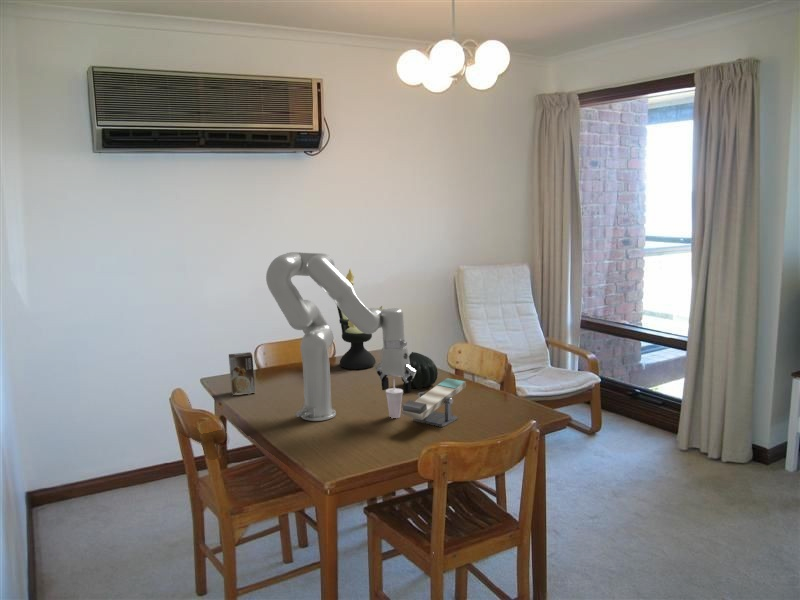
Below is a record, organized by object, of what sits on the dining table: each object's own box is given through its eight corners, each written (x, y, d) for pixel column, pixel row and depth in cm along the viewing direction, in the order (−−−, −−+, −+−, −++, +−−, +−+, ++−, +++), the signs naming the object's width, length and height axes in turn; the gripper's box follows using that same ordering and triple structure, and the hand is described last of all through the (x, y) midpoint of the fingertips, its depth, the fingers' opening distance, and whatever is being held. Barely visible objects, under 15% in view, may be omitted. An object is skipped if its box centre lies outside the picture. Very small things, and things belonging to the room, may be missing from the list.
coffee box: (253, 389, 274) (251, 351, 271) (255, 394, 268) (253, 355, 265) (230, 392, 271) (228, 353, 268) (232, 396, 265) (229, 357, 262)
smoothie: (403, 413, 240) (402, 376, 238) (404, 419, 234) (403, 381, 232) (385, 414, 240) (384, 376, 238) (386, 420, 234) (385, 381, 232)
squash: (447, 376, 268) (432, 344, 275) (415, 383, 261) (401, 350, 268) (434, 391, 279) (420, 361, 286) (403, 399, 272) (390, 367, 278)
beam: (422, 419, 218) (420, 408, 217) (402, 415, 223) (401, 404, 222) (466, 386, 241) (465, 376, 240) (447, 383, 245) (446, 373, 244)
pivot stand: (444, 427, 225) (444, 402, 224) (411, 420, 233) (410, 395, 231) (459, 419, 233) (459, 394, 232) (427, 412, 241) (426, 388, 239)
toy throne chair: (358, 373, 296) (355, 272, 288) (322, 366, 309) (318, 269, 302) (385, 364, 310) (382, 268, 303) (349, 357, 324) (346, 265, 317)
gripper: (420, 343, 231) (422, 391, 233) (380, 339, 241) (383, 385, 244) (407, 348, 225) (410, 397, 227) (367, 343, 235) (370, 390, 238)
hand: (396, 391), depth 236 cm, fingers open, 9 cm apart
